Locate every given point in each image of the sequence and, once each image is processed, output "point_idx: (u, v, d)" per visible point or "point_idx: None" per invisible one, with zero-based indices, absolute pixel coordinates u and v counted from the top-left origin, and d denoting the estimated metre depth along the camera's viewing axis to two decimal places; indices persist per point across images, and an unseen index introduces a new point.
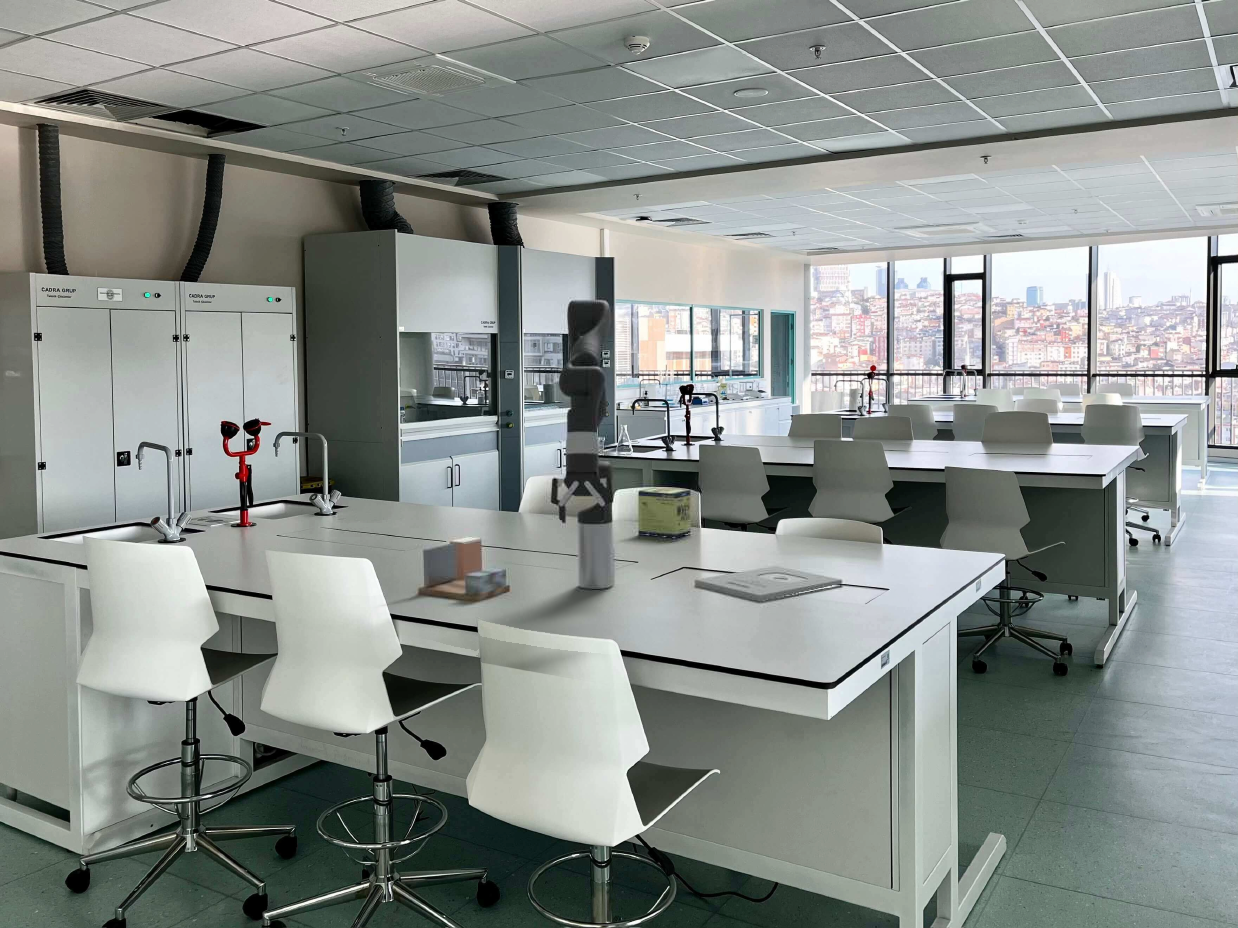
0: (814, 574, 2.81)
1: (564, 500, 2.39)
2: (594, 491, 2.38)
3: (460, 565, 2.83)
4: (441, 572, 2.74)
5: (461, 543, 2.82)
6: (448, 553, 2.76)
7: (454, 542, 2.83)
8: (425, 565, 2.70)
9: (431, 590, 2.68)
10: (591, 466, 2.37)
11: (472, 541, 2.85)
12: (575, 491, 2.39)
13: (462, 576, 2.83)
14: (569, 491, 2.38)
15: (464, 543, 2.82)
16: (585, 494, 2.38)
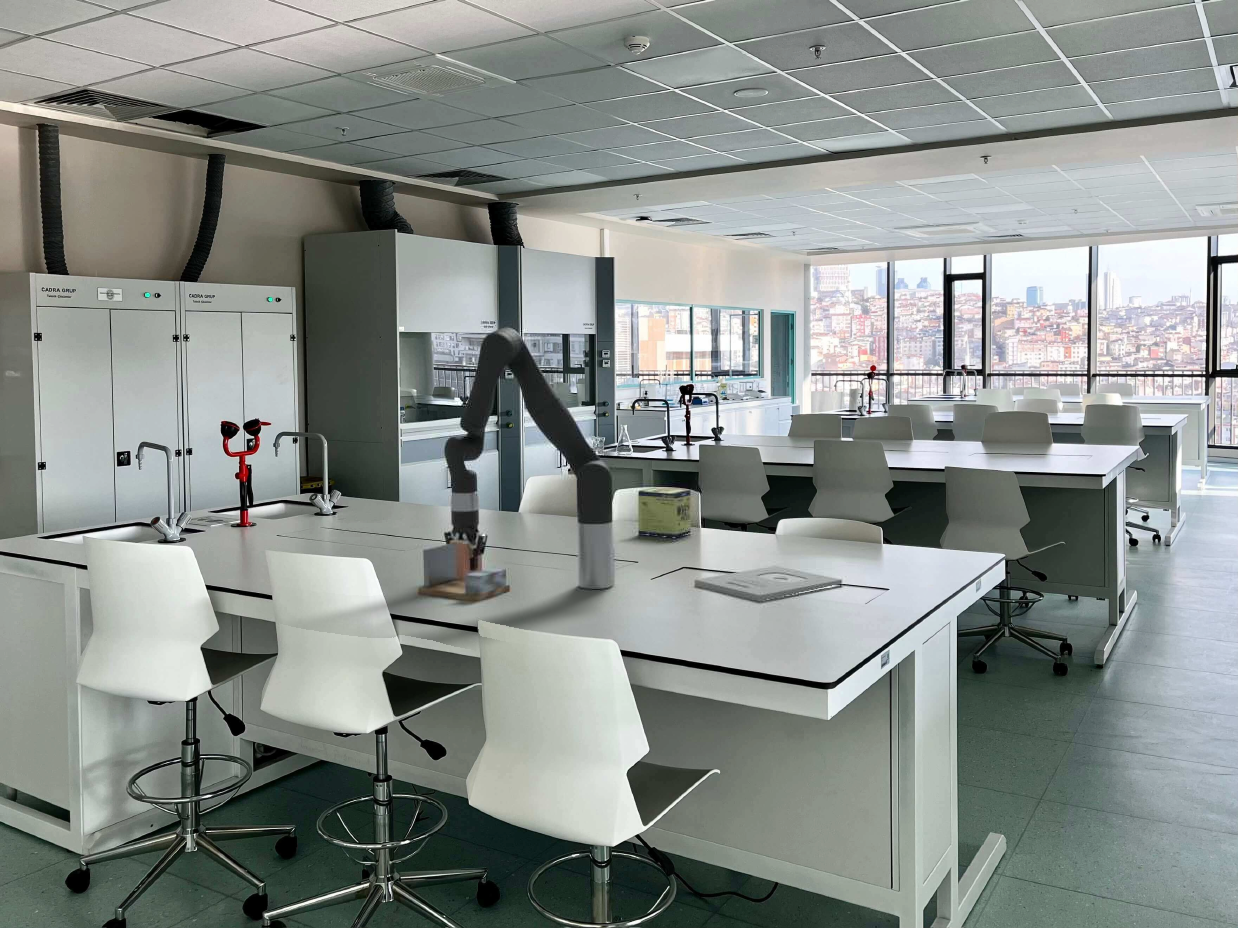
0: (814, 574, 2.81)
1: None
2: (468, 544, 2.84)
3: (460, 565, 2.83)
4: (441, 572, 2.74)
5: (461, 543, 2.82)
6: (448, 553, 2.76)
7: (454, 542, 2.83)
8: (425, 565, 2.70)
9: (431, 590, 2.68)
10: (464, 522, 2.82)
11: None
12: None
13: (462, 576, 2.83)
14: None
15: (464, 543, 2.82)
16: None
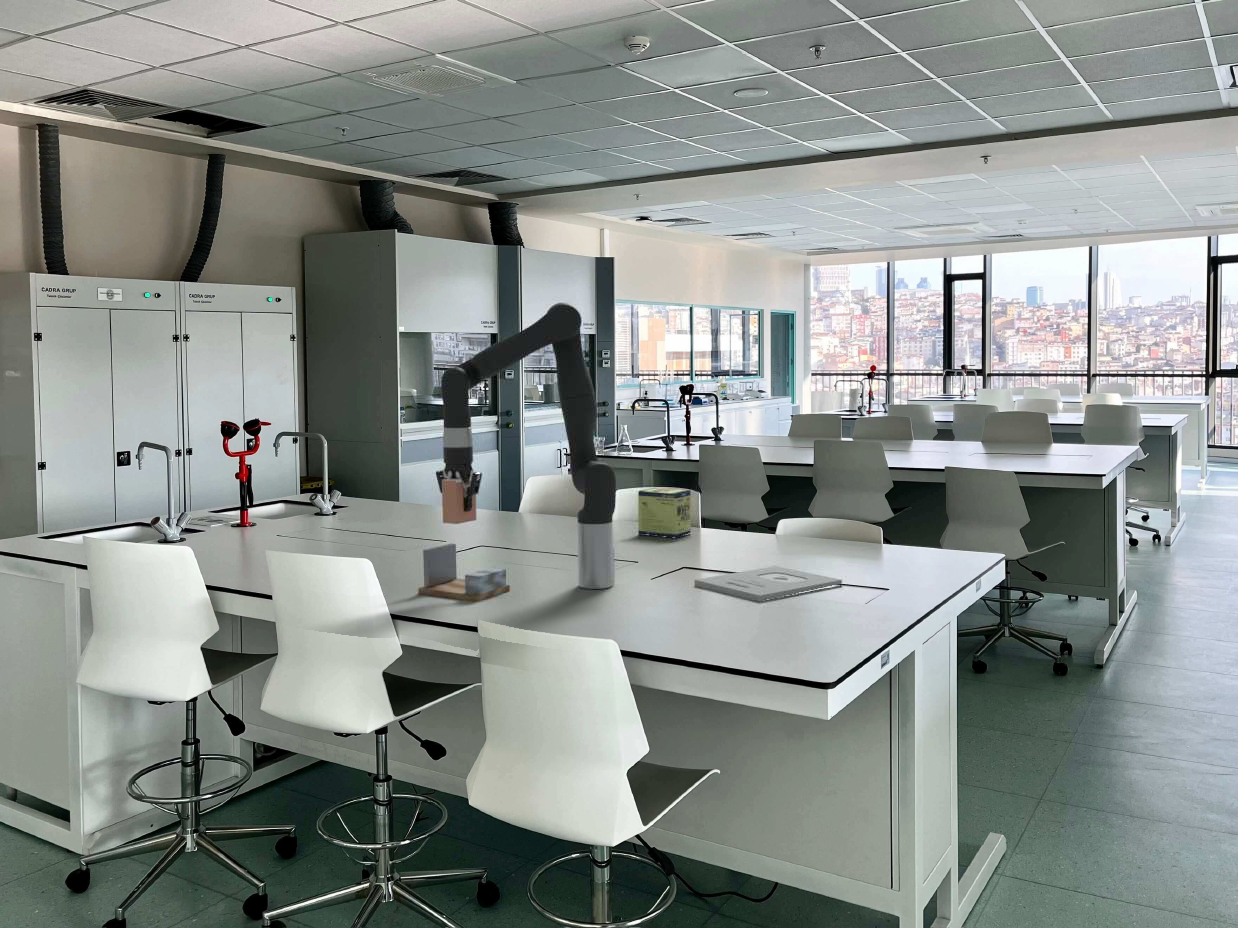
0: (814, 574, 2.81)
1: None
2: (461, 482, 2.66)
3: (452, 505, 2.65)
4: (441, 572, 2.74)
5: (454, 481, 2.65)
6: (448, 553, 2.76)
7: (446, 480, 2.66)
8: (425, 565, 2.70)
9: (431, 590, 2.68)
10: (457, 459, 2.65)
11: None
12: None
13: (455, 517, 2.65)
14: None
15: (457, 481, 2.65)
16: None
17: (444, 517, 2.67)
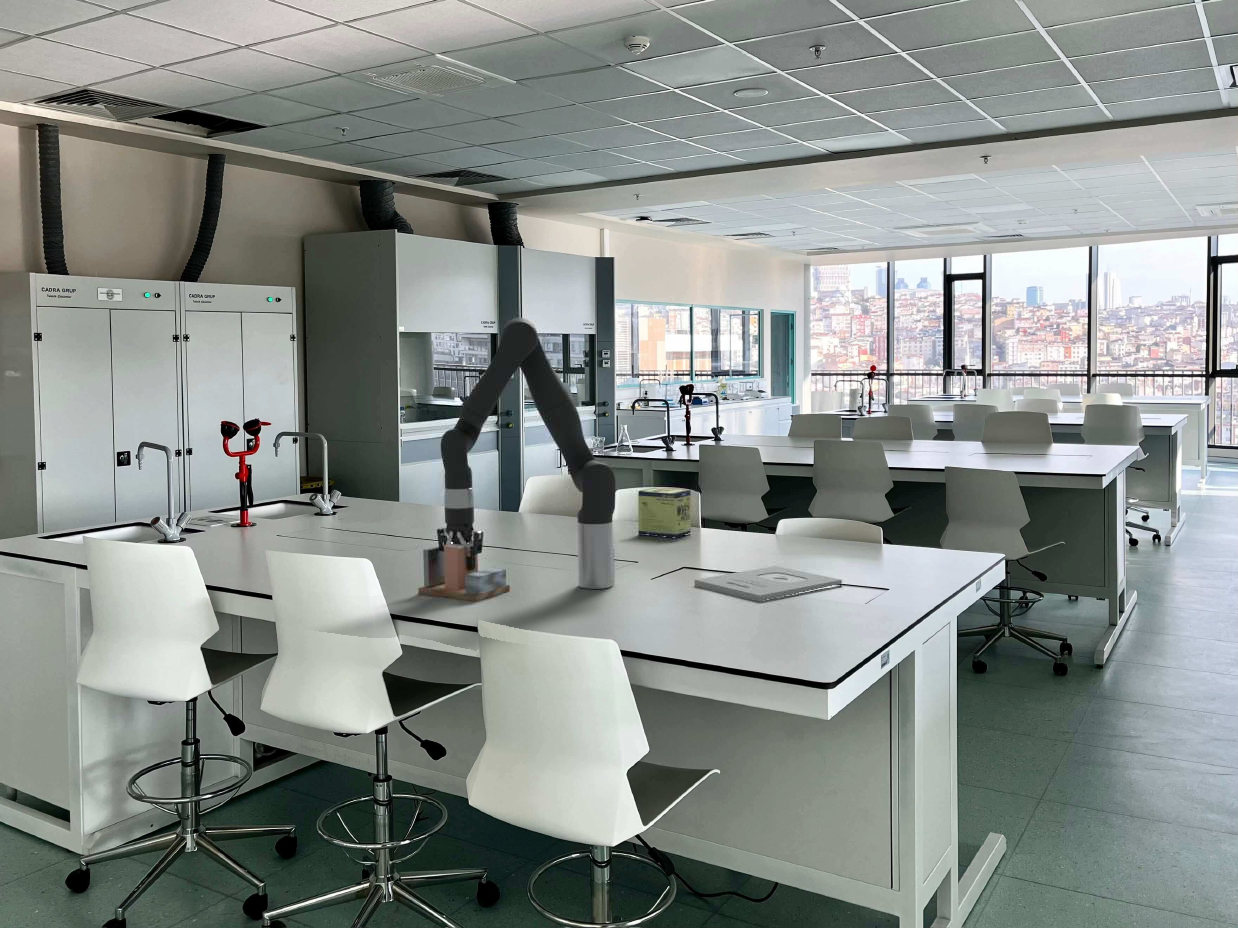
0: (814, 574, 2.81)
1: None
2: (463, 542, 2.68)
3: (454, 571, 2.67)
4: (441, 572, 2.74)
5: (456, 548, 2.66)
6: None
7: (448, 546, 2.67)
8: (425, 565, 2.70)
9: (431, 590, 2.68)
10: (458, 519, 2.66)
11: None
12: (454, 539, 2.70)
13: (457, 582, 2.67)
14: (448, 540, 2.70)
15: (459, 548, 2.66)
16: (460, 543, 2.69)
17: (446, 582, 2.69)
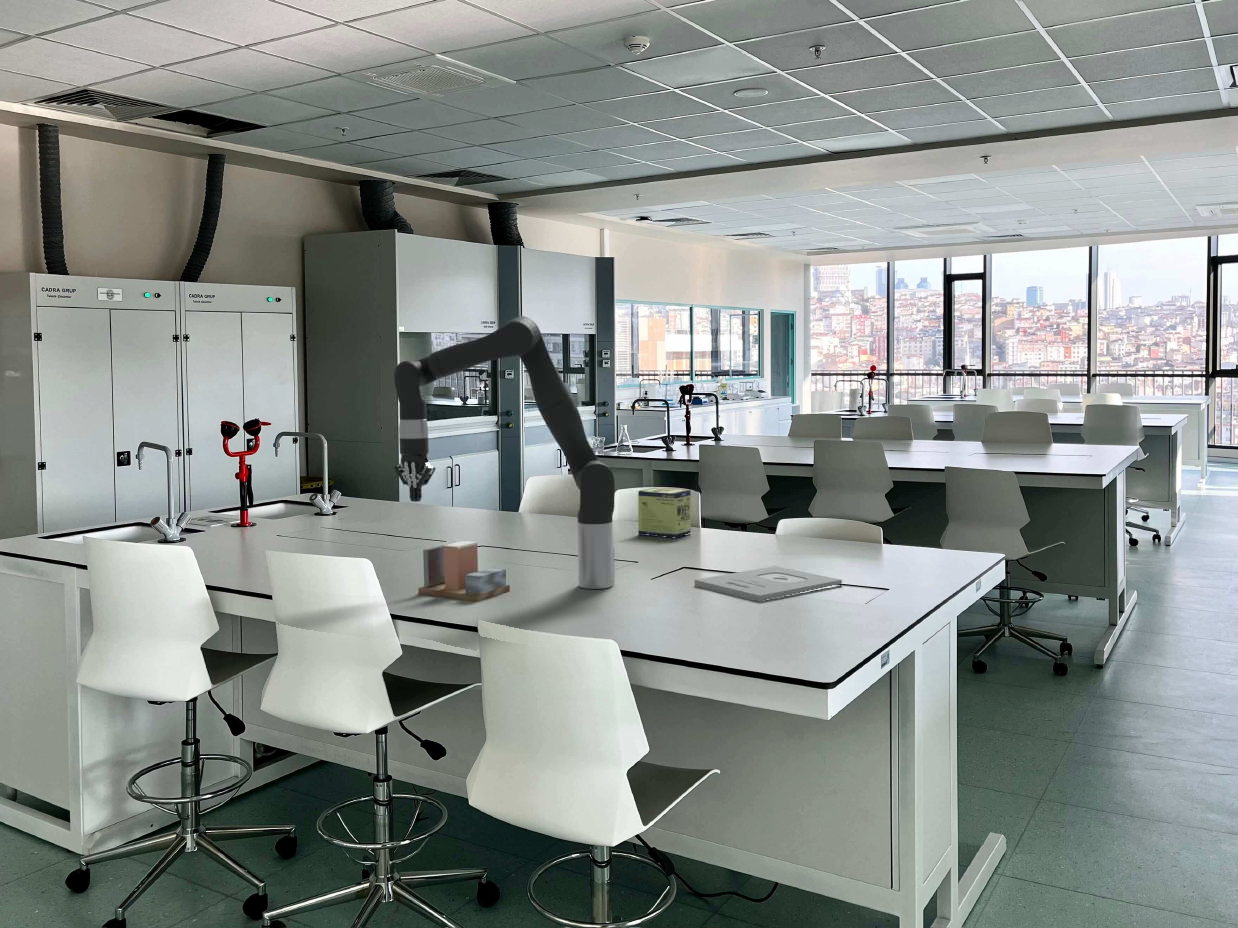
0: (814, 574, 2.81)
1: (409, 481, 2.76)
2: (414, 473, 2.74)
3: (454, 571, 2.67)
4: (441, 572, 2.74)
5: (455, 547, 2.66)
6: None
7: (448, 546, 2.67)
8: (425, 565, 2.70)
9: (431, 590, 2.68)
10: (412, 449, 2.72)
11: (467, 545, 2.69)
12: (411, 469, 2.76)
13: (457, 582, 2.67)
14: (406, 472, 2.76)
15: (459, 547, 2.66)
16: None
17: (446, 582, 2.69)
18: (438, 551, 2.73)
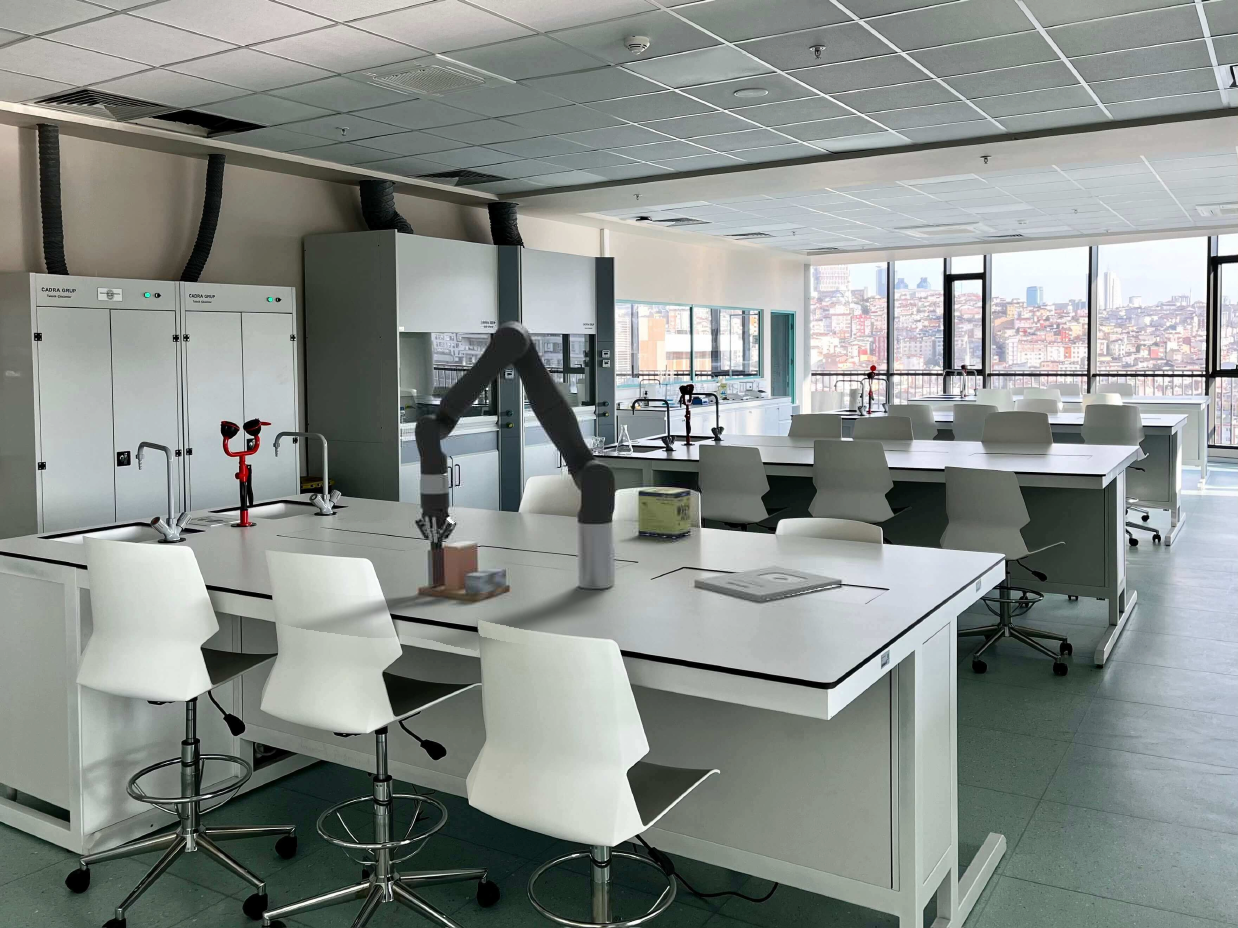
0: (814, 574, 2.81)
1: (430, 535, 2.74)
2: (435, 528, 2.73)
3: (454, 571, 2.67)
4: None
5: (455, 547, 2.66)
6: None
7: (448, 546, 2.67)
8: (429, 566, 2.69)
9: (431, 590, 2.68)
10: (434, 505, 2.70)
11: (467, 545, 2.69)
12: (432, 523, 2.74)
13: (457, 582, 2.67)
14: (427, 527, 2.74)
15: (459, 547, 2.66)
16: None
17: (446, 582, 2.69)
18: (442, 551, 2.72)
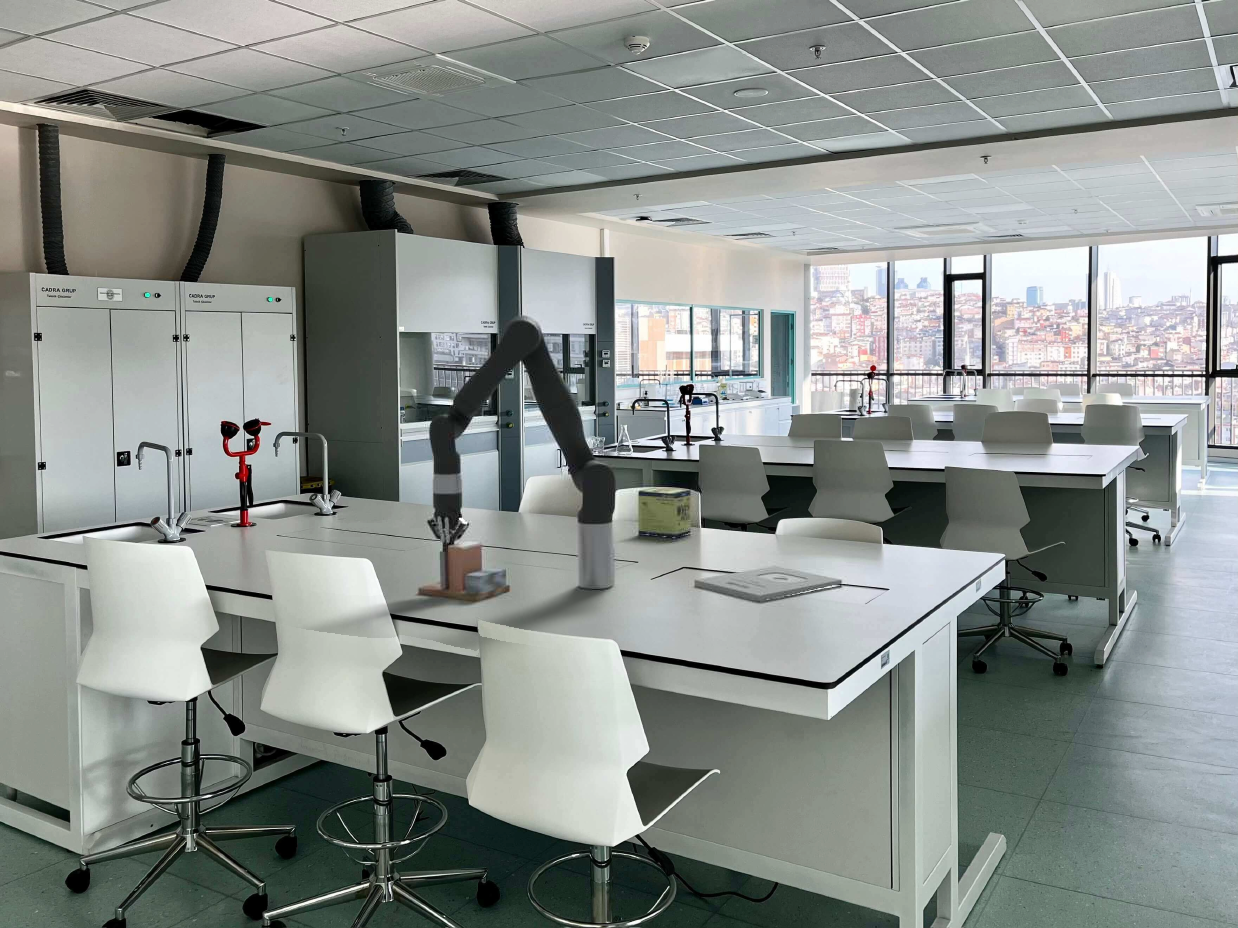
0: (814, 574, 2.81)
1: (442, 536, 2.72)
2: (447, 528, 2.70)
3: (459, 571, 2.66)
4: None
5: (460, 548, 2.65)
6: None
7: (452, 547, 2.67)
8: (441, 567, 2.67)
9: (431, 590, 2.68)
10: (446, 505, 2.68)
11: (472, 546, 2.68)
12: (444, 523, 2.72)
13: (461, 583, 2.66)
14: (440, 527, 2.72)
15: (463, 548, 2.66)
16: None
17: (450, 583, 2.68)
18: None
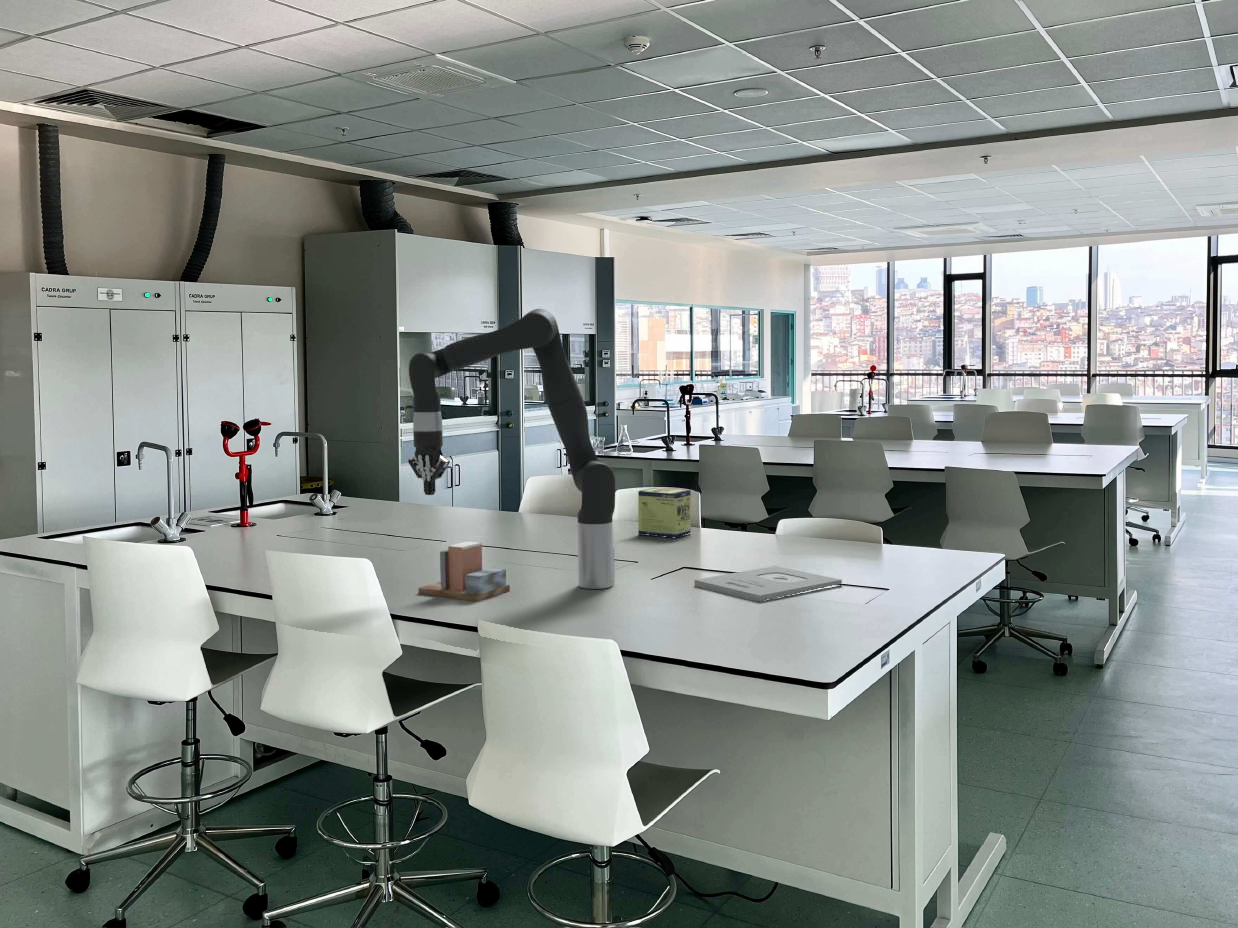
0: (814, 574, 2.81)
1: (423, 474, 2.73)
2: (428, 466, 2.72)
3: (459, 571, 2.66)
4: None
5: (460, 548, 2.65)
6: None
7: (453, 547, 2.67)
8: (442, 567, 2.67)
9: (431, 590, 2.68)
10: (427, 442, 2.70)
11: (472, 546, 2.68)
12: (425, 462, 2.73)
13: (461, 583, 2.66)
14: (420, 465, 2.73)
15: (463, 548, 2.66)
16: None
17: (450, 583, 2.68)
18: None
